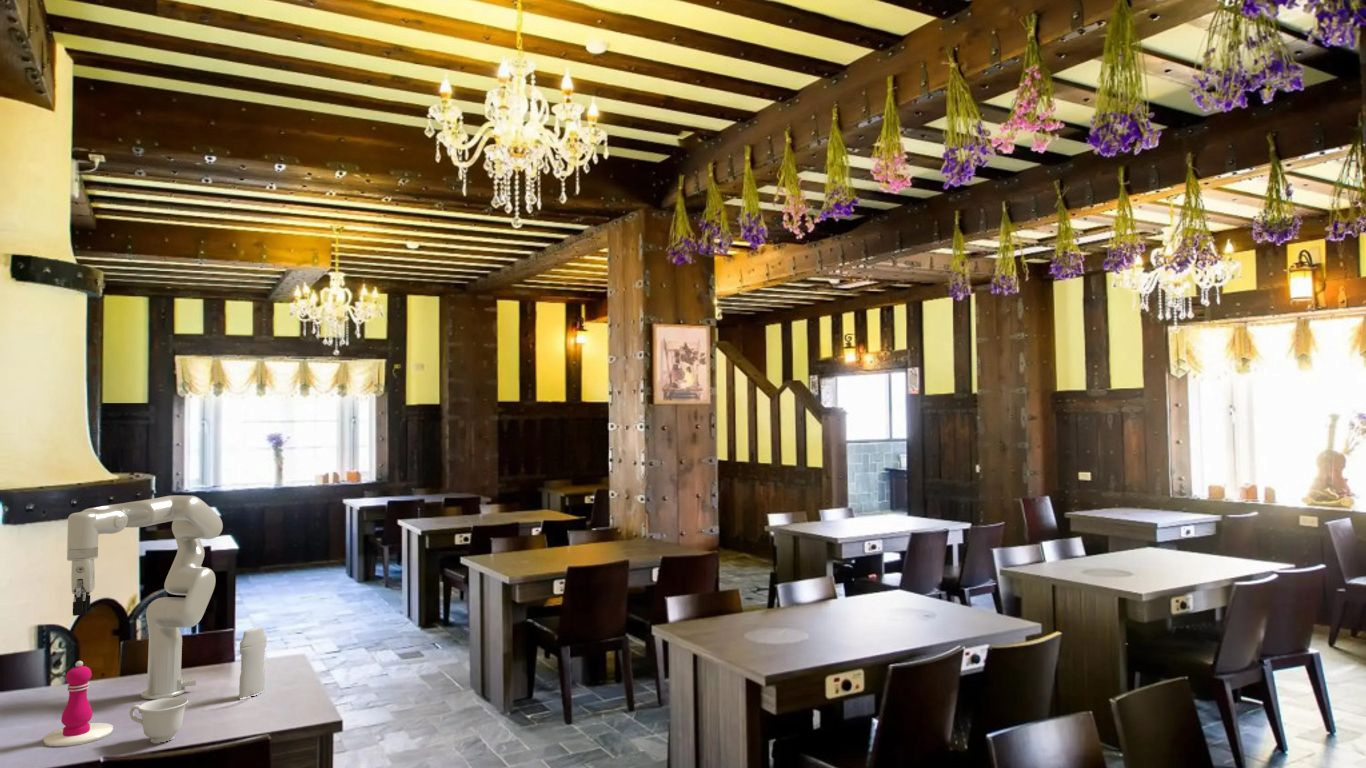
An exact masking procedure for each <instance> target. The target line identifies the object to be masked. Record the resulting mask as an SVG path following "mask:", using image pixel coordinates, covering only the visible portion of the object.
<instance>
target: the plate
mask: <svg viewBox="0 0 1366 768" xmlns="http://www.w3.org/2000/svg"><path fill="white" fill-rule="evenodd" d="M88 723H89V724H90V730H89V732H87V733H84V734H81V735H77V736H64V735H63V728H64V727H63V728H59V729H56V730H54V731H51V732H49V733H48V734H46V735H45V736H44V737H43V744H44V743H45V744H47V745H51V746H50V747H52V746H65V747H73V745H74V746H80V745H85V744H89V743H93V742H96V741H100V740H102V739H104V738H107V737H108V736H110V735H112V733H113V732H114V725H113V724H110V723H106V722H92V723H91V722H88ZM45 744H44V745H45ZM47 745H46V746H47Z"/></svg>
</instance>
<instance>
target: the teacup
mask: <svg viewBox="0 0 1366 768" xmlns="http://www.w3.org/2000/svg"><path fill="white" fill-rule="evenodd" d="M188 703H189V699H187V698H186V697H177V696H173V697H169V698H162V699H151V700H150V701H146V702H144V703H142V704H135V705H133V706H131V707H130V709H129V712H128V713H129V718H130V719H131V720H132V721H133V722H136V723H138V724H141V726H142V730H143V734H144V735H145V736H146V737H147V738H149V739H150V741H151V742H154V743H153V744H161V743H160V742H164V743H167V742H166V741H168V742H170V741H169V740H171V741H173V740H174V739H175V734H177V733H178V732H179V731H180V730H181V728H182V724H183V720H184V715H185V709H186V705H187V704H188ZM135 710H138V713H139V714H141V715H140V716H141V718H140V717H138V716H136V715H135ZM172 739H173V740H172ZM150 741H149V742H150ZM151 742H150V743H151Z"/></svg>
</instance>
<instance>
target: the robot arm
mask: <svg viewBox="0 0 1366 768" xmlns="http://www.w3.org/2000/svg"><path fill="white" fill-rule="evenodd" d="M168 522H169V523H170V522H172V524H171V531H172V534H173V536H174V539H175V542H176V546H177V550H176V551H177V552H176V555H175V557H174V559H173V561H172V564H171V567H170V569H169V570H168V574H167V576H166V578H165V581H164V585H163V587H164V590H165V592H167V593H168V594H170V595H176V596H185V597H172V596H171V597H170V596H169V597H168V596H164V597H159V598H156V599H154V600H152V601H151V603H149V605H148V606H147V609H146V612H145V616H146V617H145V618H146V623H147V630H148V652H147V653H148V655H147V656H148V657H147V658H148V659H147V679H146V680H147V681H146V682H147V683H146V690H144V691H142V692H141V694H140V697H141V698H142V699H145V700H157V699H162V698H171V697H177V696H179V695H182V694H184V693H186V689H187V688H186V687H192V686H193V687H194V686H197V679H193V678H189V679H185V678H184V679H183V676H182V653H183V652H182V650H183V649H182V648H183V647H182V646H183V635H182V632H181V630H180V628H184V629H185V628H193V627H195V626H196V625H197V624H199V623H200V621H201V620H202V619H203V616H204V614H205V613H206V609H207V607H208V605H209V603H210V600H211V598H212V595H213V593H214V590H215V587H216V574H215V572H214V571H213V570H212V569H211V568H209V567H204V566H202V564H203V561H204V560H205V559H204V558H205V556H206V555H205V553H206V552H205V548H204V545H203V543H202V541H201V540H213V539H216V538H218V537H219V536H220V534H221V533H222V531H223V528H224V526H223V521H222V519H221V517H220V516H219V515H218V514H217V513H216V511H214V510H213V509H212V508H211V507H210V506H209V504H207V503H206V502H205V501H203V500H202V499H201V498H200V497H198V496H196V495H166V496H160V497H156V498H151V499H150V498H149V499H144V500H143V499H142V500H136V501H129V502H124V503H122V502H121V503H116V504H108V505H101V506H96V507H95V506H94V507H90V508H89V507H88V508H86V509H83V510H82V511H79V512H73V513H71V514H69V515H68V518H67V541H66V542H67V545H66V547H67V548H66V560H67V561H70V562H71V573H70V574H71V580H70V581H71V582H70V583H71V594H73V602H72V616H73V617H75V616H76V617H77V616H85V615H86V614H87V610H88V609H90V608H91V593H92V592H93V591H94V590H95V584H96V583H95V582H96V581H95V578H96V577H95V559H98V558H99V535H105V534H106V535H108V534H109V535H110V534H117V533H120V532H122V531H123V530H125V528H144V527H149V526H153V525H159V524H163V523H168Z"/></svg>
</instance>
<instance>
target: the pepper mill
mask: <svg viewBox="0 0 1366 768" xmlns="http://www.w3.org/2000/svg"><path fill="white" fill-rule="evenodd" d="M91 677H92V670H91V668H89V667H88V666H86V665H84V662H83V661H82V660H78V661H76V662H75V666H74V667H72V668H70V669H69V670H68V671H67V673H66V675H65V681H66V683H67V684H68V685H67V691H68V700H67V703H66V705H65V707H64V709H63V711H62V715H61V718H60V720H61V721H60V722H61V724H62V725H64V727H63V735H64V736H77V735H81V734H84V733H87V732H89V730H90V724H89V723H90V720H91V719H92V718H93V710H92V709H93V708H92V707H91V705H90V702H89V700H88V689H89V687H90V686H89V685H90V682H89V681H90V680H91Z"/></svg>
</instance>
